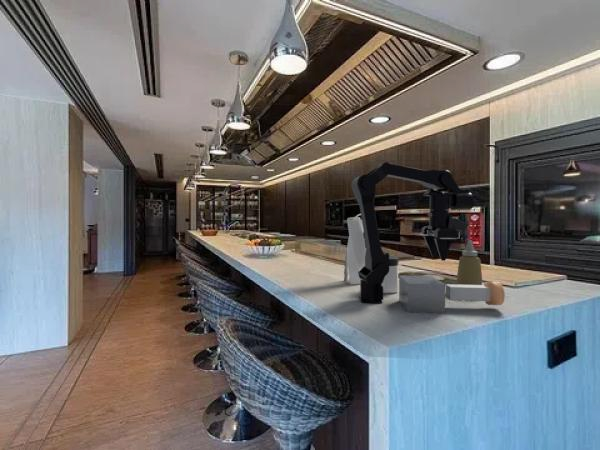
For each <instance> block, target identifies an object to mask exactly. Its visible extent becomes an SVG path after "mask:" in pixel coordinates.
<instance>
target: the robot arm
mask: <svg viewBox="0 0 600 450" xmlns="http://www.w3.org/2000/svg"><path fill="white" fill-rule="evenodd" d="M386 177H389V178H393V179H399V180H404V181H409V182H413V183H418V184H420V185H422V186H424V187H426V188H428V189H427V191H425V192H424V193H423V194H422V195H423V197H429V213H427V217H429V223H428V224H429V225H427V226H423V227H422V228H421V235H422V237H423V239H424V241H425V243H426V245H427V247H428V250H429V252H430V254H431V257H433V258H435V257H436V256H437V253H438V254H439V258H440V260H441V261H444V262H445V261H446V259H447V257H448V254H449V251H450V248H451V244H453V243H454V242H455V241H458V239H460V233H461V234H466V232H467V230H468V227H469V225H470V224H469V223H467V222H464V221H462V220H460V219H459V218H457V217H453V214H452V213H451V212H450V210H451V211H470V210H473V208H474V205H475V201H476V200H475V198H474V195H473V194H472V193H471V189H470V188H463V189H460V187H459V186H458V184H457V182H456V180H454V178H453V175H452V173H451V171H450V170H448V169H420V168H416V167H410V166H406V165H402V164H397V163H392V162H389V161H384V162H382V163H380V164H378V165H377V167H375V168H373V169H372V170H370V171H369V172H368V173H366V174H362V175H359V176H357V177H355V178H354V179H353V180H352V181H351V189H352V192H353V195H354V198H355V200H356V202H357V203H358V205H359V209H360V210H359V211H360V214H361V215H360V216H361V217H360V218H361V220H362V223H363V229H364V233H363V236H364V240H365V250H366V254H365V266H364V267H363V268H362V269H361V270H360V271H359V272H358V275H359V278H360V279H362V280H360V286H359V288H360V289H359V292H360V293H359V294H360V295H359V300H360V303H364V304H365V303H366V304H368V303H370V304H373V303H374V304H382V303H383V300H384V293H383V286H382V285H381V284H382V283H383V281H384V278H385V276H386V275H387V274H388V273H389V266H391V264H390V262H389V256H390V253H389V252H388V251H387V252H386V251H383V248H382V246H381V241H380V240H381V239H380V234H379V228H378V222H377V221H378V220H377V213H376V208H375V197H376V194H377V193H376V189H377V184H379V183H380V182H381V181H382V180H384V179H385V178H386Z"/></svg>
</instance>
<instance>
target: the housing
mask: <svg viewBox="0 0 600 450" xmlns="http://www.w3.org/2000/svg"><path fill="white" fill-rule="evenodd" d="M398 301H399V302H400V303H401V305H402V306H403V308H404V309H405V311H406V312H407V313H422V314H423V313H424V314H427V313H428V314H446V283H444V282H442V281H440V279H437V278H436V277H434V276H433V275H401V274H400V275H399V274H398Z"/></svg>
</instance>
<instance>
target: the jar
mask: <svg viewBox="0 0 600 450" xmlns="http://www.w3.org/2000/svg"><path fill="white" fill-rule="evenodd" d="M389 262H390V264H391V266H389V273H388V274H387V275H386V276H385V278H384V281H383V283H382V284H381V285H382V286H383V294H397V293H398V292H399V257H398V256H394V255H393V256H392V255H389Z"/></svg>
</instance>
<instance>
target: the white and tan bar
mask: <svg viewBox="0 0 600 450" xmlns="http://www.w3.org/2000/svg"><path fill="white" fill-rule="evenodd" d="M445 299H448V300H449V301H462V302H463V301H464V302H465V301H468V302H485V304H487V306H502V305H503V304H504V301H505V289H504V287H503V284H502V283H501V282H500V281H485V282H483V283H482V285H458V283H457V284H450V283H449V284H448V283H447V284H446V283H445Z"/></svg>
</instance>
